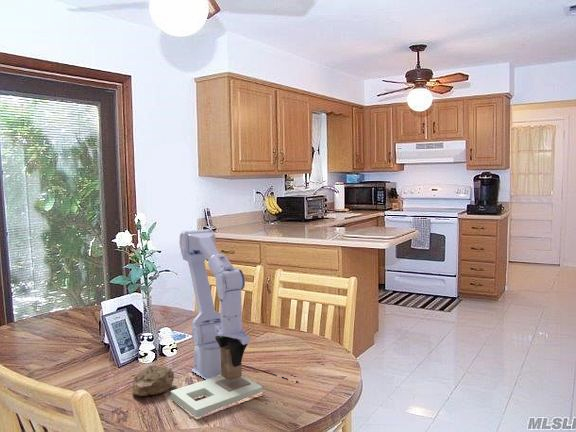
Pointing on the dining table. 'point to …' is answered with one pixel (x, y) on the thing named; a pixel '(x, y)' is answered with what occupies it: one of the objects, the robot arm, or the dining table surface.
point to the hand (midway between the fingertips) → (232, 363)
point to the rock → (152, 380)
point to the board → (214, 394)
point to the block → (228, 365)
